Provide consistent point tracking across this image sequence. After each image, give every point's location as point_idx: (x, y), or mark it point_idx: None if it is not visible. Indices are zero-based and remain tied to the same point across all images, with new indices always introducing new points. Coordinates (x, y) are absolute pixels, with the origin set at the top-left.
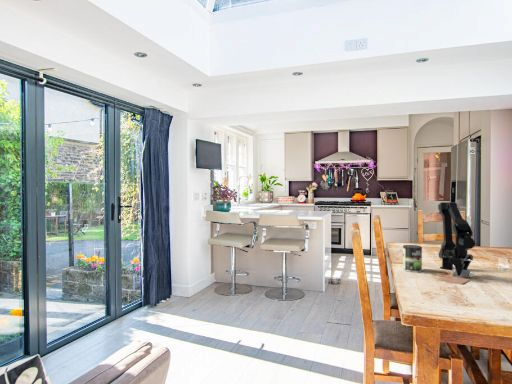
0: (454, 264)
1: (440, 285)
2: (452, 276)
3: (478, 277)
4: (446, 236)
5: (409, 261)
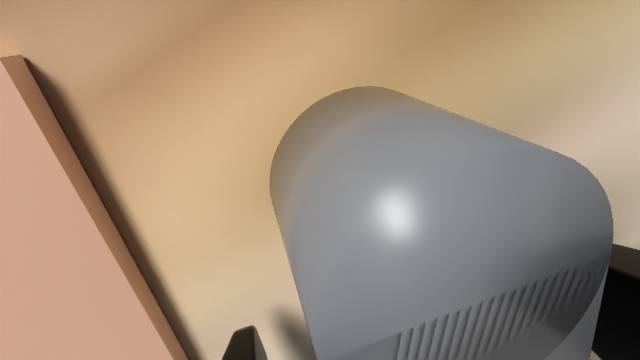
0: None
1: None
2: (94, 263)
3: None
4: None
5: None
